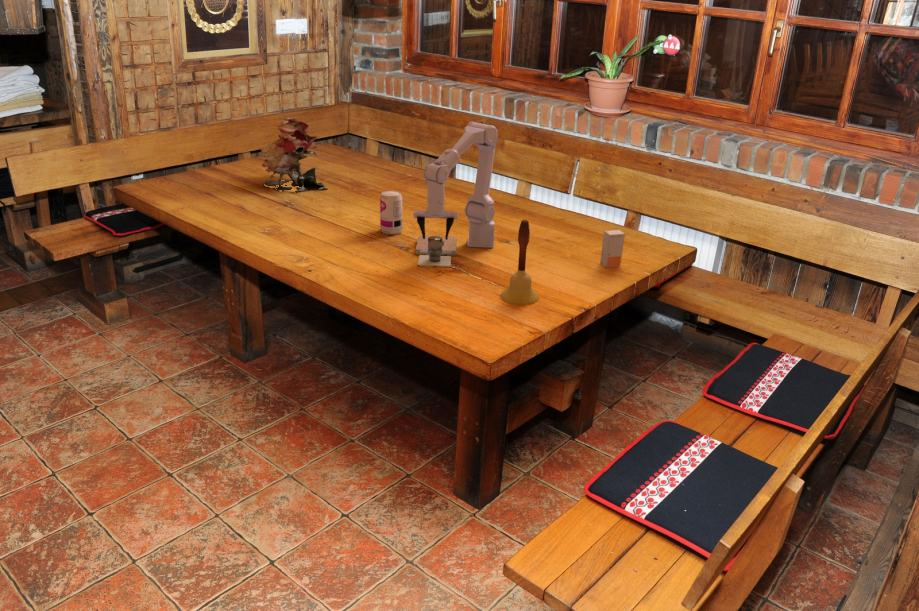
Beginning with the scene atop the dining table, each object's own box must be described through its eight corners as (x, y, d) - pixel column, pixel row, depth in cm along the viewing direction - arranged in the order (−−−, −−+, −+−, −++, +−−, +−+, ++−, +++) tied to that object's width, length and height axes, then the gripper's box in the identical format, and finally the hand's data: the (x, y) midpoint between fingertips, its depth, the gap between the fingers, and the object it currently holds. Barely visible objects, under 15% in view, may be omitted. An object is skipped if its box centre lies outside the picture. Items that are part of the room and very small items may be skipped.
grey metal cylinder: (441, 257, 268) (442, 236, 264) (441, 263, 264) (441, 241, 260) (428, 257, 268) (428, 235, 264) (427, 262, 264) (427, 240, 260)
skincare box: (605, 267, 265) (609, 234, 260) (599, 263, 269) (603, 230, 264) (621, 266, 267) (625, 233, 262) (615, 261, 271) (619, 229, 266)
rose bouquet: (301, 174, 361) (297, 109, 348) (334, 189, 341) (331, 120, 328) (250, 182, 346) (244, 115, 333) (282, 198, 326) (277, 127, 313)
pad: (451, 257, 270) (451, 256, 270) (450, 267, 262) (450, 265, 262) (419, 256, 270) (419, 254, 270) (417, 265, 262) (417, 264, 262)
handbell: (534, 288, 248) (539, 213, 237) (543, 304, 237) (550, 227, 226) (496, 289, 246) (500, 214, 235) (504, 306, 235) (509, 228, 224)
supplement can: (382, 235, 288) (382, 197, 281) (378, 228, 295) (378, 190, 289) (404, 234, 290) (404, 196, 283) (399, 227, 297) (399, 189, 291)
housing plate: (456, 242, 284) (456, 237, 283) (455, 256, 271) (455, 250, 270) (418, 240, 284) (418, 235, 283) (415, 254, 271) (415, 249, 271)
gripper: (413, 202, 253) (413, 241, 259) (457, 204, 253) (456, 243, 259) (414, 196, 259) (414, 234, 265) (457, 197, 259) (456, 235, 265)
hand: (435, 238), depth 262 cm, fingers open, 7 cm apart
